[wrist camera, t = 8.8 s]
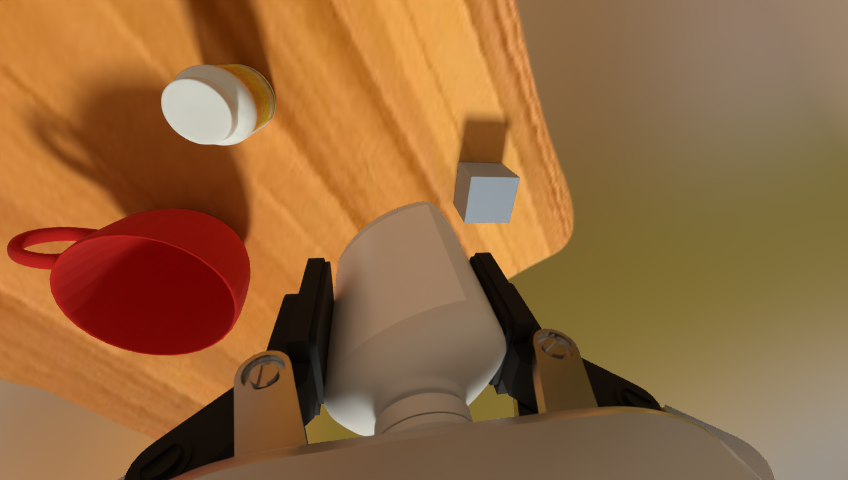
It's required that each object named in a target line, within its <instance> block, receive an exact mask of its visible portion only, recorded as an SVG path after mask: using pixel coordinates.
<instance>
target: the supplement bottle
mask: <svg viewBox="0 0 848 480" xmlns="http://www.w3.org/2000/svg"><path fill="white" fill-rule="evenodd" d="M161 107H162V111H163V114H164V116H165V118H166V120H167V121H168V123H169V124H170V125H171V127H172V128H173V129H174V130H175V131H176V132H177V133H178V134H180V135H181V136H182V137H184V138H186V139H188V140H190V141H192V142H195V143H199V144H216V145H233V144H237V143H239V142H241V141H243V140H245V139H247V138H248V137H249V136H251V135H252V134H254V133H255V132H257V131H258V130H260V129H261V128H263V127H264V126H266V125H267V124H268V123H269V122H270V121H271V119H272V118H273V116H274V114H275V108H276V100H275V95H274V92H273V89H272V87H271V86H270V84H269V82H268V81H267V80H266V79H265V77H264V76H263V75H261V74H260V73H259V72H258V71H256V70H255V69H253V68H251V67H248V66H245V65H241V64H208V65H207V64H206V65H196V66H192V67H189V68H187V69H185V70H183V71H182V72H181V73H180V74H179V75H178V76H177V77H176V78H175V80H174V81H173V82H171V83H170V84H168V85H167V86H166V88H165V89H164V91H163V93H162V97H161Z"/></svg>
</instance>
